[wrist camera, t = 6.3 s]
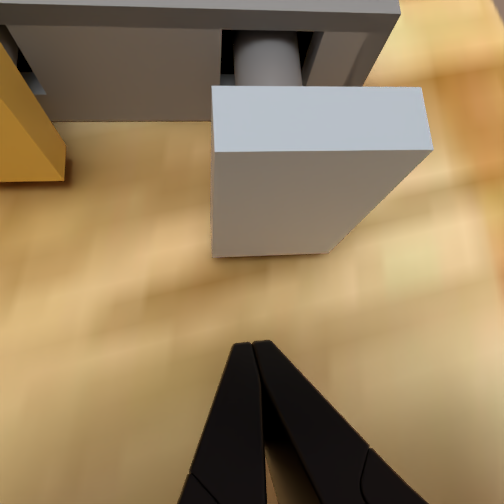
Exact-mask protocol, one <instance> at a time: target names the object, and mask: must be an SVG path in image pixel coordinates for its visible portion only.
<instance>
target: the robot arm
mask: <svg viewBox="0 0 504 504" xmlns="http://www.w3.org/2000/svg"><path fill="white" fill-rule="evenodd" d="M369 447H370V446H369V444H368V443H367V442H366V441H365V440H364V439H363V438H362V437H361V436H360V435H359V434H358V433H357V432H356V430H355V429H354V428H353V427H352V426H351V425H350V424H349V423H348V422H347V421H346V420H345V419H344V418H343V417H342V416H341V415H340V413H339V412H338V411H337V410H336V409H335V408H334V407H333V406H332V405H331V404H330V403H329V402H328V401H327V400H326V399H325V398H324V396H323V395H322V394H321V393H320V392H319V391H318V390H317V389H316V388H315V387H314V386H313V385H312V384H311V383H310V382H309V381H308V379H307V378H306V377H305V376H304V375H303V374H302V373H301V372H300V371H299V370H298V369H297V368H296V367H295V366H294V365H293V364H292V363H291V361H290V360H289V359H288V358H287V357H286V356H285V355H284V354H283V353H282V352H281V351H280V350H279V349H278V348H277V347H276V346H275V344H274V343H273V342H272V341H270V340H262V341H254V342H253V343H252V344H251V343H250V342H243V343H235V344H233V346H232V348H231V351H230V354H229V356H228V359H227V362H226V365H225V368H224V371H223V374H222V377H221V380H220V382H219V385H218V388H217V391H216V394H215V397H214V400H213V403H212V406H211V408H210V411H209V414H208V417H207V420H206V423H205V426H204V429H203V432H202V434H201V437H200V440H199V443H198V446H197V449H196V452H195V455H194V458H193V460H192V463H191V466H190V469H189V474H188V475H187V477H186V480H185V483H184V486H183V489H182V491H181V494H180V497H179V499H178V502H177V504H267V493H266V469H265V456H266V459H267V463H268V467H269V471H270V474H271V478H272V482H273V485H274V489H275V493H276V496H277V500H278V504H429V503H427V502H426V501H425V500H424V499H423V498H422V497H421V496H420V495H419V494H418V493H416V492H415V491H414V490H413V489H412V488H411V487H410V486H409V485H408V484H407V483H406V482H405V481H404V480H403V479H402V478H401V477H400V476H399V475H398V474H397V473H396V472H395V471H394V470H393V469H392V468H391V467H390V466H389V465H388V464H387V463H386V462H385V461H384V460H383V459H382V458H381V457H380V456H379V455H378V454H377V453H376V451H375V450H374V449H373V448H370V449H369Z"/></svg>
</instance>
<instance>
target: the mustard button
mask: <svg viewBox="0 0 504 504" xmlns="http://www.w3.org/2000/svg"><path fill="white" fill-rule="evenodd" d="M18 48H19V47H18V45H17V43H16V42H15V40H14V38H13V37H12V35H11V33H10V31H9V30H8V28H7V26H6V25H0V182H23V181H64V176H65V158H66V145H65V143H64V141H63V140H62V138H61V137H60V135H59V134H58V132H57V130H56V129H55V127H54V126H53V124H52V123H51V121H50V119H49V118H48V116H47V115H46V113H45V112H44V110H43V108H42V107H41V105H40V104H39V102H38V101H37V99H36V97H35V96H34V94H33V93H32V91H31V89H30V88H29V86H28V85H27V83H26V82H25V80H24V78H23V77H22V75H21V74H20V72H19V71H18V69H17V59H18Z"/></svg>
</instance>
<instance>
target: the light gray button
mask: <svg viewBox="0 0 504 504" xmlns="http://www.w3.org/2000/svg"><path fill="white" fill-rule="evenodd" d="M232 41H233V57H234V72H235V86H212V93H211V213H210V221H211V245H212V258H215V257H241V256H267V255H293V254H319V253H329V252H330V251H331V250H332V249H333V248H334V247H335V246H336V245H337V244H338V243H339V242H340V241H341V240H342V239H343V238H344V237H345V236H346V235H347V234H348V233H349V232H350V231H351V230H352V229H353V228H354V227H355V226H356V225H357V224H359V223H360V222H361V221H362V220H363V219H364V218H365V217H366V216H367V215H368V214H369V213H370V212H371V211H372V210H373V209H374V208H375V207H376V206H377V205H378V204H379V203H380V202H381V201H382V200H383V199H384V198H385V197H386V196H387V195H388V194H389V193H390V192H391V191H392V190H393V189H394V188H395V187H396V186H397V185H398V184H399V183H400V182H401V181H402V180H403V179H404V178H405V177H406V176H407V175H408V174H409V173H410V172H411V171H412V170H413V169H414V168H415V167H416V166H417V165H418V164H419V163H421V162H422V161H423V160H424V159H425V158H426V157H427V156H428V155H429V154H430V153H431V152H432V151H433V150H434V149H433V144H432V139H431V134H430V129H429V124H428V119H427V114H426V109H425V104H424V99H423V94H422V89H421V87H328V86H303V85H302V76H301V67H300V58H299V50H298V41H297V32H296V31H273V30H232Z"/></svg>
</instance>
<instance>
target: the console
mask: <svg viewBox="0 0 504 504" xmlns="http://www.w3.org/2000/svg"><path fill="white" fill-rule="evenodd" d="M400 15H401V11H400V6H399V1H398V0H0V25H6V26H7V28H8V30H9V31H10V33H11V35H12V37H13V38H14V40H15V42H16V43H17V45H18V47H19V48H20V50H21V52H22V54H23V55H24V57H25V59H26V60H27V62H28V64H29V65H30V67H31V69H32V71H33V72H20V74H21V75H22V77H23V78H24V80H25V82H26V83H27V85H28V86H29V88H30V89H31V91H32V93H33V94H34V96H35V97H36V99H37V101H38V102H39V104H40V105H41V107H42V108H43V110H44V112H45V113H46V115H47V116H48V118H49V119H50V121H211V93H212V86H235V74H220V66H221V39H222V29H227V30H273V31H314V32H313V35H312V39H311V42H310V45H309V48H308V52H307V55H306V58H305V61H304V65H303V68H302V71H301V76H302V85H303V86H328V87H362V86H363V84H364V82H365V80H366V78H367V76H368V74H369V73H370V71H371V69H372V67H373V65H374V63H375V61H376V60H377V58H378V56H379V54H380V52H381V50H382V48H383V47H384V45H385V43H386V41H387V39H388V37H389V35H390V34H391V32H392V30H393V28H394V26H395V24H396V22H397V21H398V19H399V17H400Z"/></svg>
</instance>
